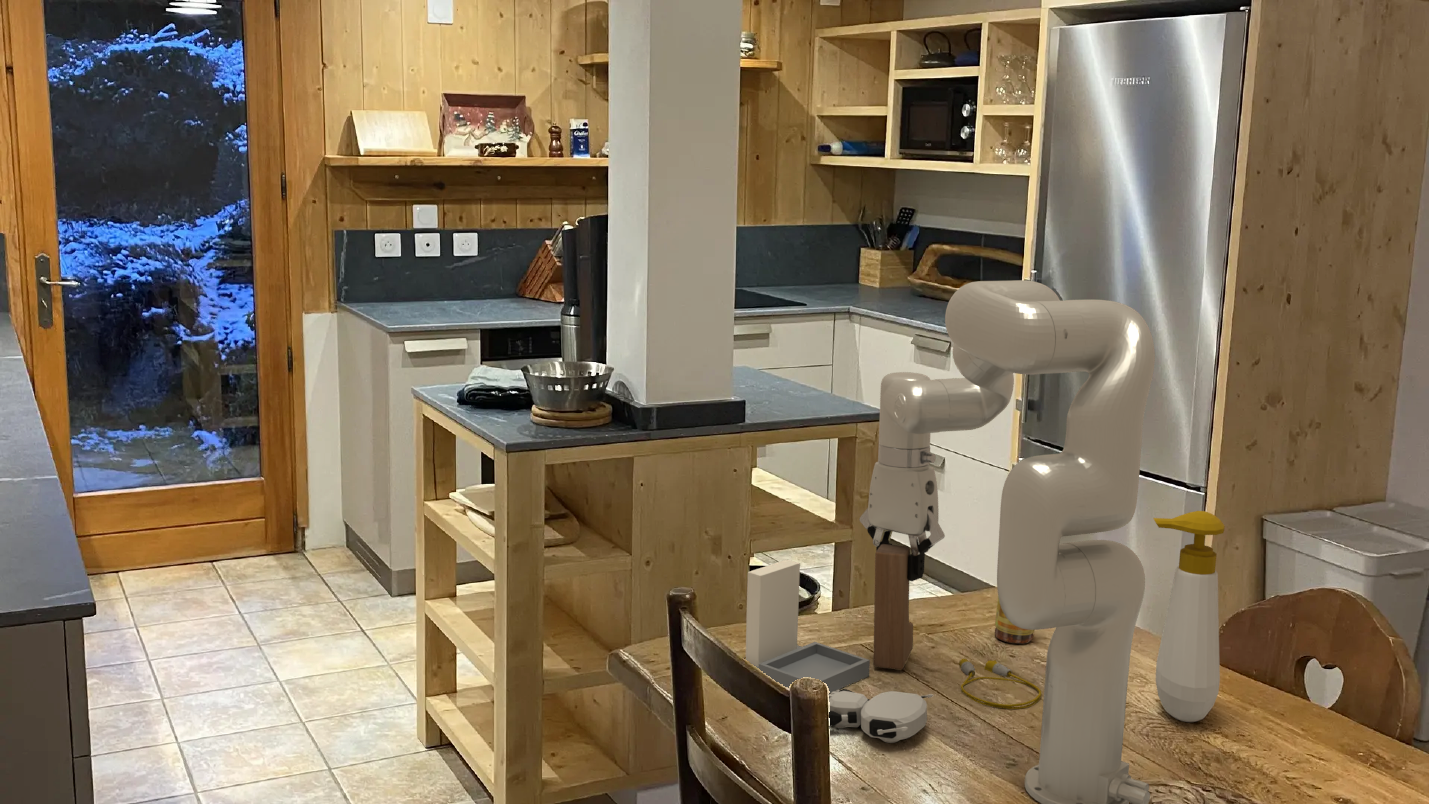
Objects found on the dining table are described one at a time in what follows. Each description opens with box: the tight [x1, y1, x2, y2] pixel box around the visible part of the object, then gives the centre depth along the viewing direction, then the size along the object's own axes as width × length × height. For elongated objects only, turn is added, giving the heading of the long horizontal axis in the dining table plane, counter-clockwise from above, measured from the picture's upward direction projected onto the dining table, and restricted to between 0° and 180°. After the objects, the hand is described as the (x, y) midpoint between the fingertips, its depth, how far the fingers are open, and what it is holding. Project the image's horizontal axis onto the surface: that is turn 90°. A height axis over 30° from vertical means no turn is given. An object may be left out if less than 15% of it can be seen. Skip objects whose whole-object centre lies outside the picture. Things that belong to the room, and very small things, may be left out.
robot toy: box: [828, 688, 934, 744], centre depth 180 cm, size 12×4×15 cm
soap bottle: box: [1153, 510, 1226, 723], centre depth 185 cm, size 13×10×29 cm
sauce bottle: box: [994, 596, 1035, 645], centre depth 213 cm, size 6×6×20 cm
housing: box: [745, 559, 871, 694], centre depth 198 cm, size 16×13×15 cm
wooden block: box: [872, 544, 914, 671], centre depth 202 cm, size 9×4×18 cm, turn 162°
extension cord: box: [958, 658, 1043, 710], centre depth 195 cm, size 12×16×2 cm
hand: (899, 573), depth 201 cm, fingers closed on wooden block, 5 cm apart
